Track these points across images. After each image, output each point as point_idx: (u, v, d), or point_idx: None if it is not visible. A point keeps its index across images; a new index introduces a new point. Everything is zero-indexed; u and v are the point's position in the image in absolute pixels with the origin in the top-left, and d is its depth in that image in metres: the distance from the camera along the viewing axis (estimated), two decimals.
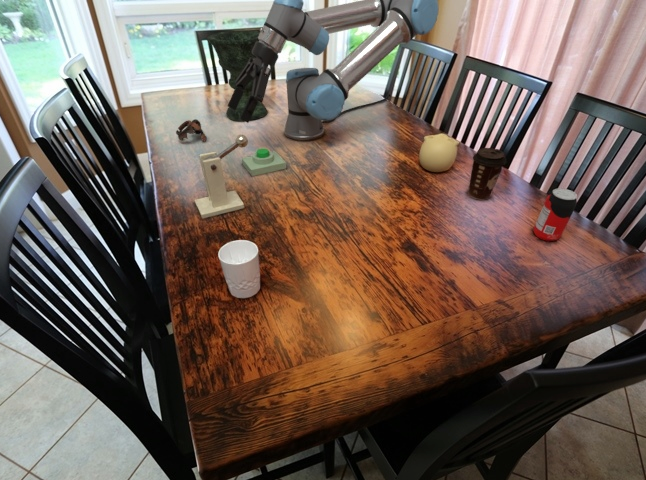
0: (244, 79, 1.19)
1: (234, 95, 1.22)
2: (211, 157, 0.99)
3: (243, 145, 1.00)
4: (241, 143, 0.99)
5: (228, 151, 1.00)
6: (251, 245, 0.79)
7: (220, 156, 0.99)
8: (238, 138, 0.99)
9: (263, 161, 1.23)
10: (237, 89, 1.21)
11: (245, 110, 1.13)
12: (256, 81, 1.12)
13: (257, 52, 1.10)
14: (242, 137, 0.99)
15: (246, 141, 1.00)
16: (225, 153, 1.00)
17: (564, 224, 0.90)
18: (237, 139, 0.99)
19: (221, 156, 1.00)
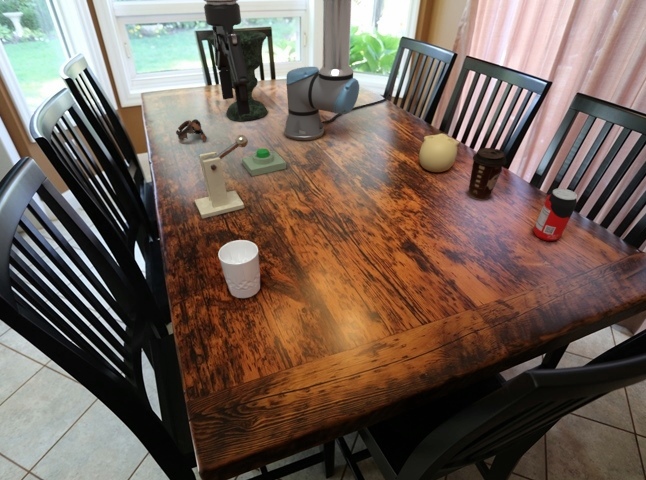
0: (221, 58, 0.91)
1: (222, 82, 0.96)
2: (211, 157, 0.99)
3: (243, 145, 1.00)
4: (241, 143, 0.99)
5: (228, 151, 1.00)
6: (251, 245, 0.79)
7: (220, 156, 0.99)
8: (238, 138, 0.99)
9: (263, 161, 1.23)
10: (221, 73, 0.95)
11: (238, 102, 0.87)
12: (230, 58, 0.84)
13: (211, 20, 0.80)
14: (242, 137, 0.99)
15: (246, 141, 1.00)
16: (225, 153, 1.00)
17: (564, 224, 0.90)
18: (237, 139, 0.99)
19: (221, 156, 1.00)
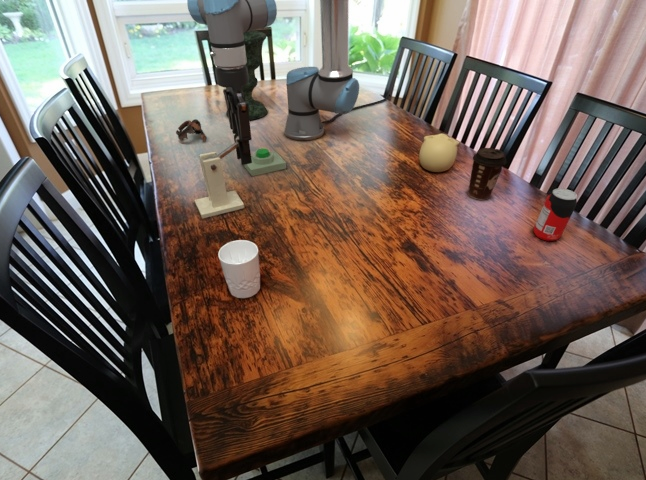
0: (233, 118, 0.97)
1: None
2: (211, 157, 0.99)
3: None
4: None
5: (228, 151, 1.00)
6: (251, 245, 0.79)
7: (220, 156, 0.99)
8: (238, 138, 0.99)
9: (263, 161, 1.23)
10: None
11: (242, 154, 1.00)
12: (237, 118, 0.94)
13: (222, 82, 0.88)
14: None
15: None
16: (225, 153, 1.00)
17: (564, 224, 0.90)
18: None
19: (221, 156, 1.00)
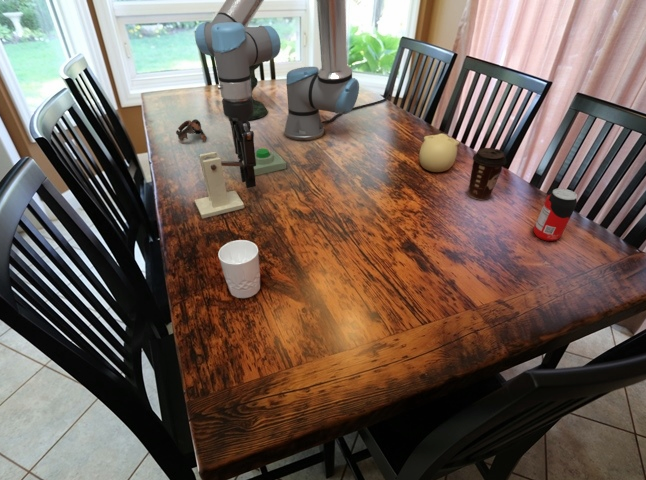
0: (239, 144, 1.02)
1: (242, 169, 1.07)
2: None
3: None
4: None
5: (232, 164, 1.02)
6: (251, 245, 0.79)
7: (223, 163, 1.01)
8: None
9: (263, 161, 1.23)
10: None
11: (246, 178, 1.05)
12: (243, 146, 0.98)
13: (228, 113, 0.93)
14: None
15: None
16: (228, 164, 1.02)
17: (564, 224, 0.90)
18: None
19: (223, 164, 1.01)
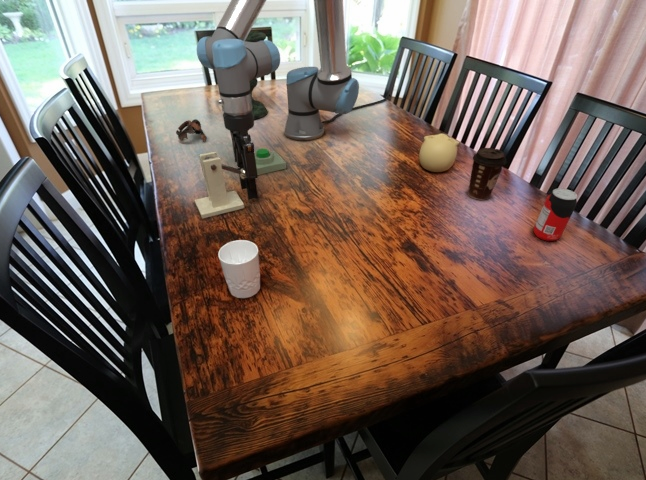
0: (239, 154, 1.05)
1: None
2: None
3: None
4: (245, 174, 1.05)
5: (230, 169, 1.03)
6: (251, 245, 0.79)
7: (222, 166, 1.01)
8: None
9: (263, 161, 1.23)
10: None
11: (248, 190, 1.06)
12: (244, 158, 1.00)
13: (229, 127, 0.95)
14: None
15: None
16: (227, 168, 1.02)
17: (564, 224, 0.90)
18: None
19: (223, 167, 1.02)
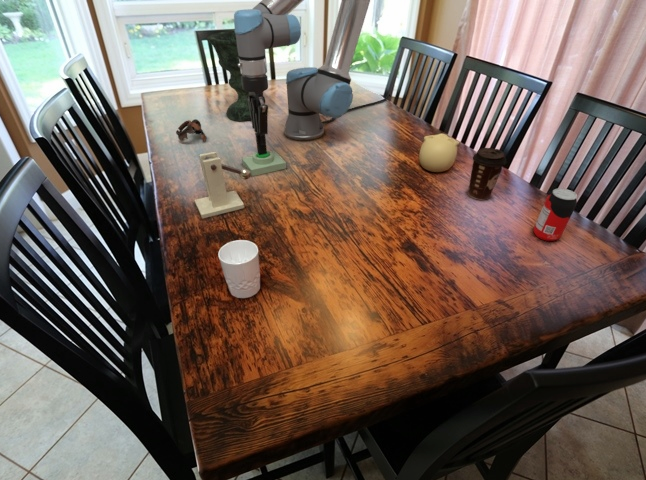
0: (255, 118, 1.17)
1: None
2: None
3: (244, 177, 1.05)
4: (245, 174, 1.05)
5: (230, 169, 1.03)
6: (251, 245, 0.79)
7: (222, 166, 1.01)
8: (246, 169, 1.05)
9: (263, 161, 1.23)
10: None
11: (259, 146, 1.22)
12: (257, 117, 1.15)
13: (247, 88, 1.08)
14: (249, 172, 1.05)
15: (248, 177, 1.06)
16: (227, 168, 1.02)
17: (564, 224, 0.90)
18: (244, 169, 1.05)
19: (223, 167, 1.02)
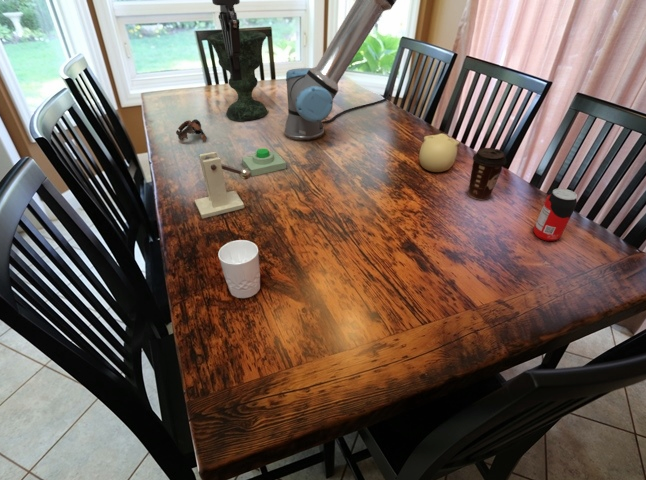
0: (228, 38, 1.12)
1: None
2: None
3: (244, 177, 1.05)
4: (245, 174, 1.05)
5: (230, 169, 1.03)
6: (251, 245, 0.79)
7: (222, 166, 1.01)
8: (246, 169, 1.05)
9: (263, 161, 1.23)
10: None
11: (233, 70, 1.16)
12: (229, 36, 1.10)
13: (216, 0, 1.03)
14: (249, 172, 1.05)
15: (248, 177, 1.06)
16: (227, 168, 1.02)
17: (564, 224, 0.90)
18: (244, 169, 1.05)
19: (223, 167, 1.02)
